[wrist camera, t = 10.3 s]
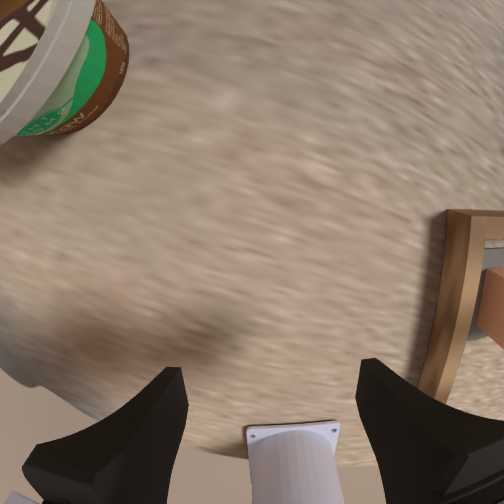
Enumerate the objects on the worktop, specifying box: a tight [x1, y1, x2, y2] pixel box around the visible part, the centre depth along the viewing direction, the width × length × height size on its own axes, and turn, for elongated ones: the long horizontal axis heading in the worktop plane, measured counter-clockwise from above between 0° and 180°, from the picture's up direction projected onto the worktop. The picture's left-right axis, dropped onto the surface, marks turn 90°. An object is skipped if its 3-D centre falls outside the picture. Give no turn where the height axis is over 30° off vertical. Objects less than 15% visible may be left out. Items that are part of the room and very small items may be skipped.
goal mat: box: [466, 247, 504, 341], centre depth 20 cm, size 8×8×1 cm
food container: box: [0, 0, 129, 145], centre depth 13 cm, size 12×6×10 cm, turn 112°
